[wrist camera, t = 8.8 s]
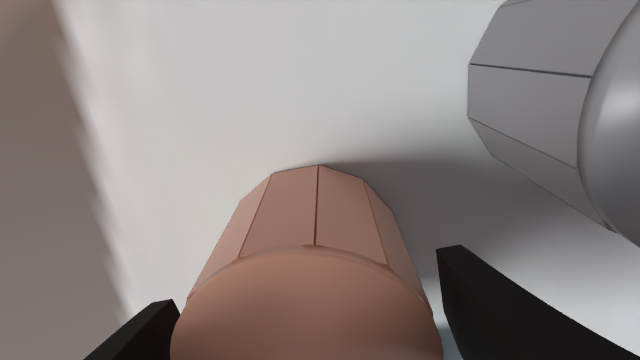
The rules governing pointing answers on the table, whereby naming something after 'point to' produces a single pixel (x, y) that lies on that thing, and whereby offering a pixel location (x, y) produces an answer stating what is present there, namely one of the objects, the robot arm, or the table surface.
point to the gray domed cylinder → (565, 102)
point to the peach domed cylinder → (308, 279)
